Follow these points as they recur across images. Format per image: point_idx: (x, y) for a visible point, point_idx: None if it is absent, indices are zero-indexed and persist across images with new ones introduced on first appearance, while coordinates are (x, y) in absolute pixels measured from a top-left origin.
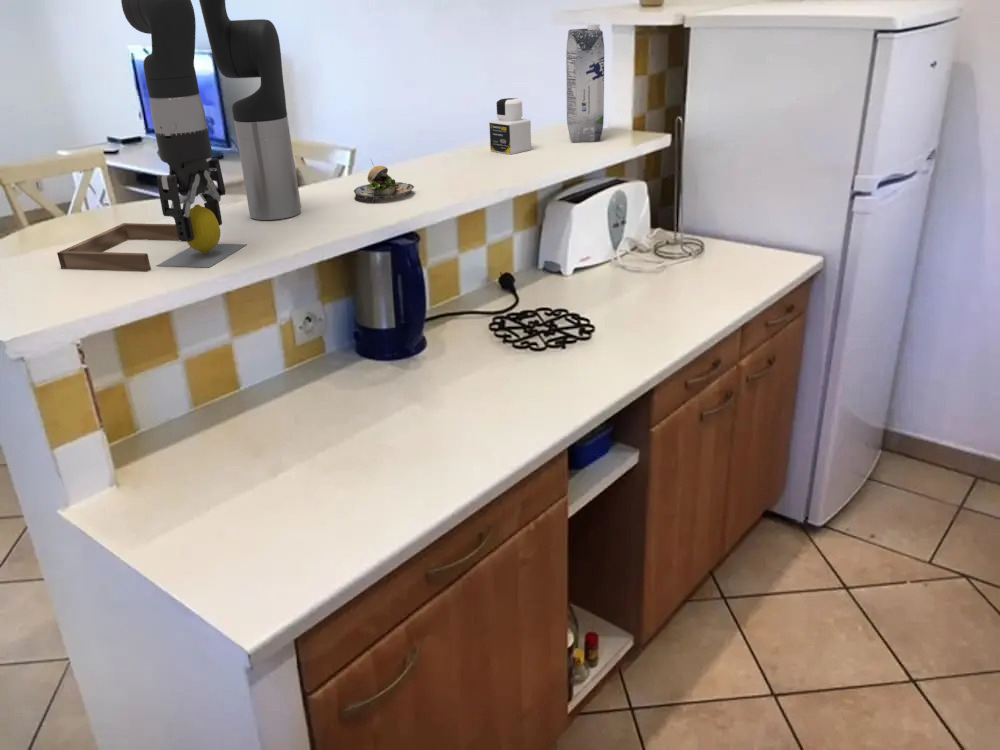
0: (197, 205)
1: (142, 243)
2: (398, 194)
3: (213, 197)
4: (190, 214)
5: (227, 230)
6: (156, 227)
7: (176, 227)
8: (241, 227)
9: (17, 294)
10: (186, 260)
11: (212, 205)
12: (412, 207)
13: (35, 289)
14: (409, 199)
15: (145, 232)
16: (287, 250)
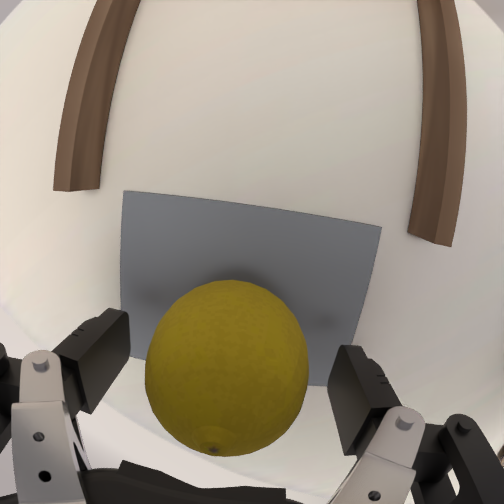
0: (203, 451)
1: (386, 35)
2: (501, 463)
3: (345, 478)
4: (154, 401)
5: (487, 269)
6: (445, 64)
7: (66, 339)
8: (497, 296)
9: (13, 16)
10: (174, 270)
11: (351, 433)
12: (459, 485)
13: (25, 20)
14: None
15: (431, 33)
16: (269, 462)
